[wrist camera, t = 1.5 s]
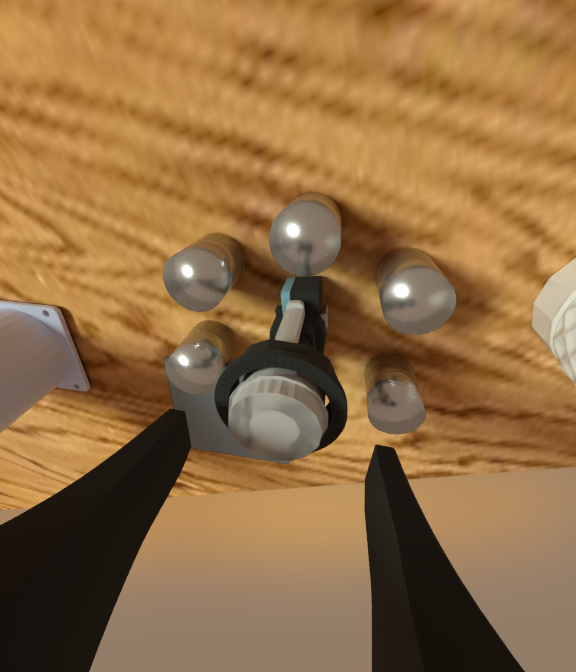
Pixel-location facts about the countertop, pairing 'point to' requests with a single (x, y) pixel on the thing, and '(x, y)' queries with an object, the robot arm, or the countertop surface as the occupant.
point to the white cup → (558, 318)
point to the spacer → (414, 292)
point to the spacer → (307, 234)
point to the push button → (285, 382)
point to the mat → (208, 422)
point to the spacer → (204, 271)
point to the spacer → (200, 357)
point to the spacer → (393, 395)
